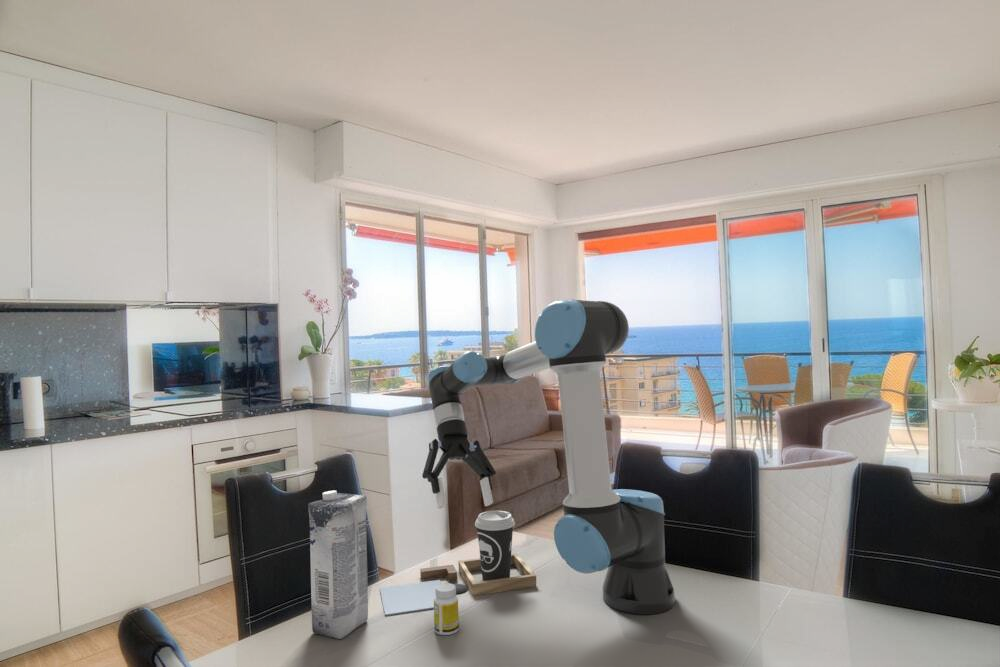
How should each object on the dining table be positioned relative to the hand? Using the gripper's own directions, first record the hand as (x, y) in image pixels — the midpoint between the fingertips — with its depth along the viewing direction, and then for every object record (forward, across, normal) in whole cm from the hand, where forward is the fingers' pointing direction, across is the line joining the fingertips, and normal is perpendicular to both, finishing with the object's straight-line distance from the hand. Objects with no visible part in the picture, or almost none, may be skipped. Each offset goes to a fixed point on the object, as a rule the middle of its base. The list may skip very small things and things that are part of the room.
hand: (466, 505), depth 144 cm
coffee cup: (+17, -7, -4) cm, 19 cm away
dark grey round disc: (+18, +4, -5) cm, 19 cm away
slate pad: (+18, +13, -8) cm, 23 cm away
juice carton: (+21, +31, -7) cm, 38 cm away
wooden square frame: (+17, -7, -3) cm, 18 cm away
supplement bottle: (+27, +15, +7) cm, 31 cm away
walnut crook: (+14, +4, -12) cm, 18 cm away
